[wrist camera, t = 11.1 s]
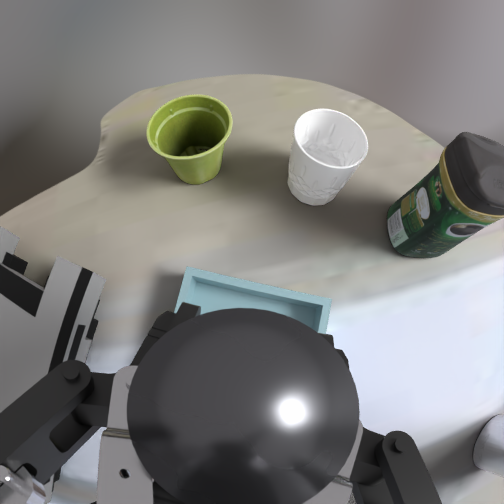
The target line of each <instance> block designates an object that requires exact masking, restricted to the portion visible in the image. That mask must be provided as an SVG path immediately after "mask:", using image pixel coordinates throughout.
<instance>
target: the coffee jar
mask: <svg viewBox="0 0 504 504" xmlns="http://www.w3.org/2000/svg"><path fill="white" fill-rule="evenodd" d="M502 218H504V146H502V145H501V144H499V143H497V142H495V141H493V140H490V139H488V138H485V137H482V136H479V135H476V134H472V133H469V132H462V133H460V134H459V135H458V136H457V137H456V138H455V139H454V140H453V141H452V142H451V143H450V144H449V145H448V146H447V147H446V148H445V149H444V150H443V152H442V154H441V157H440V160H439V163H438V164H437V165H436V167H435V168H434V169H433V170H432V171H431V172H430V173H429V174H427V175H426V176H425V177H424V178H423V179H422V180H421V181H420V182H419V183H418V184H416V185H415V186H414V187H413V188H412V189H410V190H409V191H408V192H407V193H406V194H404V195H403V196H402V197H401V198H400V199H398V200H397V201H396V202H395V203H394V204H393V205H392V206H391V207H390V209H389V211H388V215H387V226H388V234H389V238H390V241H391V243H392V245H393V247H394V248H395V250H396V251H397V252H399V253H400V254H402V255H405V256H409V257H416V258H432V257H438V256H440V255H442V254H444V253H445V252H447V251H449V250H450V249H452V248H453V247H455V246H456V245H458V244H459V243H461V242H462V241H464V240H465V239H467V238H469V237H470V236H472V235H473V234H475V233H476V232H478V231H479V230H481V229H483V228H484V227H486V226H488V225H490V224H492V223H494V222H496V221H498V220H500V219H502Z"/></svg>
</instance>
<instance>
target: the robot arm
mask: <svg viewBox="0 0 504 504" xmlns="http://www.w3.org/2000/svg"><path fill="white" fill-rule="evenodd" d="M199 315H201V306H197V305H193V304H189V303H186V302H182V303H181V305H180V307H179V309H178V311H177V313H173V312H169V311H166V312H165V313H163V314H162V315H161V316H159V317H158V318H157V319H156V321H155V323H154V324H153V326H152V329H151V330H150V331H149V333H148V336H147V337H146V338H145V340H144V342H143V344H142V345H141V347H140V349H139V351H138V352H137V354H136V356H135V358H134V359H133V361H132V363H131V364H130V366H127V367H124V368H122V369H120V370H119V371H118V372H117V373H114V374H105V373H94V372H91V371H90V369H89V367H88V366H87V365H86V364H85V363H83V362H81V361H78V360H67V361H64V362H62V363H61V364H59V365H58V366H57V367H55V368H54V369H53V370H52V371H50V372H49V373H48V374H47V375H46V376H44V377H43V378H42V379H41V380H39V381H38V382H37V383H36V384H34V385H33V386H32V387H31V388H30V389H28V390H27V391H26V392H25V393H24V394H22V395H21V396H20V397H19V398H17V399H16V400H15V401H14V402H13V403H11V404H10V405H9V406H8V407H7V408H6V409H4V410H3V411H2V412H1V413H0V504H44V502H45V498H46V493H45V489H44V487H43V484H44V483H45V482H46V481H47V480H48V479H49V478H50V477H51V476H52V475H53V474H54V473H55V472H56V471H57V470H58V469H59V468H60V467H61V466H62V465H63V464H64V463H65V462H66V461H67V460H68V459H69V458H70V457H71V456H72V455H73V454H74V453H75V452H76V451H77V450H78V449H79V448H80V447H81V446H82V445H83V444H84V443H85V442H86V441H87V440H88V439H89V438H90V437H91V436H92V435H93V434H94V433H95V432H96V431H97V430H98V429H99V428H100V427H107V429H106V430H104V431H103V433H102V436H101V443H100V453H99V466H98V482H97V501H95V502H93V503H91V504H185V503H184V502H182V501H180V500H178V499H177V498H175V497H174V496H172V495H171V494H169V493H168V492H167V491H166V490H164V489H163V488H162V487H161V486H160V485H159V484H158V483H157V482H156V481H155V480H154V479H153V478H152V477H151V475H150V474H149V473H148V472H147V471H146V469H145V468H144V466H143V464H142V463H141V461H140V460H139V458H138V456H137V454H136V452H135V449H134V447H133V444H132V441H131V438H130V435H129V430H128V424H127V399H128V392H129V389H130V385H131V381H132V378H133V376H134V374H135V371H136V369H137V367H138V365H139V364H140V362H141V360H142V359H143V357H144V356H145V354H146V353H147V352H148V351H149V349H150V348H151V347H152V346H153V345H154V343H155V342H157V341H158V340H159V339H160V338H161V337H162V336H163V335H164V334H165V333H167V332H168V331H170V330H171V329H173V328H174V327H176V326H177V325H179V324H181V323H183V322H185V321H187V320H189V319H191V318H193V317H196V316H199ZM317 333H318V332H317ZM319 334H320V335H321V336H323V337H324V338H325V339H326V340H327V341H328V342H329V343H330V344H331V345H332V346H333V347H334V342H333V336H332V335H328V334H323V333H319ZM336 351H337V352H338V353H339V355H340V356H341V357H342V359H343V360H344V362H345V364H346V365H347V367H348V369H349V364H348V359H347V357H346V356H345V354H344V352H343V351H342V350H340V349H336ZM473 461H474V464H475V465H476V467H478V468H480V469H483V470H486V471H488V472H491V473H493V474H496V475H499V476H501V477H504V414H501V415H497V416H495V417H493V418H492V419H491V420H490V421H489V422H488V423H487V424H486V425H485V427H484V428H483V430H482V431H481V433H480V435H479V437H478V439H477V441H476V444H475V447H474V452H473ZM352 491H353V494H354V497H355V500H356V503H357V504H442V503H441V500H440V498H439V495H438V493H437V491H436V488H435V486H434V484H433V482H432V479H431V477H430V475H429V473H428V470H427V468H426V466H425V464H424V462H423V459H422V457H421V455H420V453H419V451H418V449H417V446H416V444H415V442H414V440H413V439H412V438H411V437H410V436H409V435H408V434H407V433H405V432H402V431H392V432H390V433H388V434H387V435H386V436H383V435H380V434H378V433H375V432H372V431H370V430H367V429H366V428H364V427H363V426H362V423H361V421H360V420H359V426H358V431H357V436H356V440H355V443H354V446H353V448H352V451H351V453H350V455H349V457H348V459H347V461H346V463H345V465H344V466H343V467H342V469H341V470H340V472H339V473H338V474H337V476H336V477H335V478H334V479H333V480H332V481H331V482H330V483H329V484H328V485H327V486H326V487H325V488H324V489H323V490H321V491H320V492H319V493H318V494H317V495H315V496H314V497H312V498H311V499H309V500H307V501H306V502H304V503H302V504H348V501H349V498H350V495H351V492H352Z"/></svg>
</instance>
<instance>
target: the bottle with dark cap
mask: <svg viewBox="0 0 504 504" xmlns="http://www.w3.org/2000/svg"><path fill="white" fill-rule="evenodd" d="M127 424H128V430H129V435H130V438H131V441H132V444H133V447H134V449H135V452H136V454H137V456H138V458H139V460H140V461H141V463H142V464H143V466H144V468H145V469H146V471H147V472H148V473H149V474H150V475H151V477H152V478H153V479H154V480H155V481H156V482H157V483H158V484H159V485H160V486H161V487H162V488H163V489H164V490H166V491H167V492H168V493H169V494H171V495H172V496H174V497H175V498H177V499H178V500H180V501H182V502H184V503H185V504H302V503H304V502H306V501H307V500H309V499H311V498H312V497H314V496H315V495H317V494H318V493H319V492H320V491H321V490H323V489H324V488H325V487H326V486H327V485H328V484H329V483H330V482H331V481H332V480H333V479H334V478H335V477H336V476H337V474H338V473H339V472H340V470H341V469H342V467H343V466H344V465H345V463H346V461H347V459H348V457H349V455H350V453H351V451H352V448H353V446H354V443H355V440H356V436H357V431H358V426H359V400H358V395H357V390H356V386H355V383H354V381H353V378H352V375H351V373H350V371H349V369H348V367H347V365H346V364H345V362H344V360H343V359H342V357H341V356H340V355H339V353H338V352H337V351H336V349H335V348H334V347H333V346H332V345H331V344H330V343H329V342H328V341H327V340H326V339H325V338H324V337H323V336H321V335H320V334H319V333H317V332H316V331H315V330H313V329H312V328H310V327H309V326H307V325H305V324H303V323H302V322H300V321H298V320H296V319H293V318H291V317H288V316H286V315H283V314H280V313H276V312H273V311H268V310H262V309H255V308H230V309H221V310H216V311H212V312H207V313H204V314H201V315H199V316H196V317H193V318H191V319H189V320H187V321H185V322H183V323H181V324H179V325H177V326H176V327H174V328H173V329H171V330H170V331H168V332H167V333H165V334H164V335H163V336H162V337H161V338H160V339H159V340H158V341H157V342H155V343H154V345H153V346H152V347H151V348H150V349H149V351H148V352H147V353H146V354H145V356H144V357H143V359H142V360H141V362H140V364H139V365H138V367H137V369H136V371H135V374H134V376H133V378H132V381H131V385H130V389H129V392H128V399H127Z"/></svg>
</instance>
